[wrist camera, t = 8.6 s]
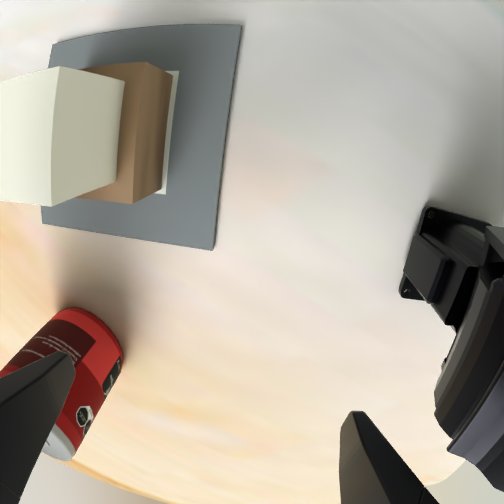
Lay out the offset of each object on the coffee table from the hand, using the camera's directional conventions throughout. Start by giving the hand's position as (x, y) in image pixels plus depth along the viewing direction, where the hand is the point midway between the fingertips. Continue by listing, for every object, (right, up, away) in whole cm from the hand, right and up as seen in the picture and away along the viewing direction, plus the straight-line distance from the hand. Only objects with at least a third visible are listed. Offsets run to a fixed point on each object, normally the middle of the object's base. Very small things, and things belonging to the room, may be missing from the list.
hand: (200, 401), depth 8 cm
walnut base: (-7, +12, +8) cm, 16 cm away
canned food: (-13, -4, +16) cm, 21 cm away
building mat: (-7, +12, +9) cm, 16 cm away
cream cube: (-7, +10, +5) cm, 14 cm away
